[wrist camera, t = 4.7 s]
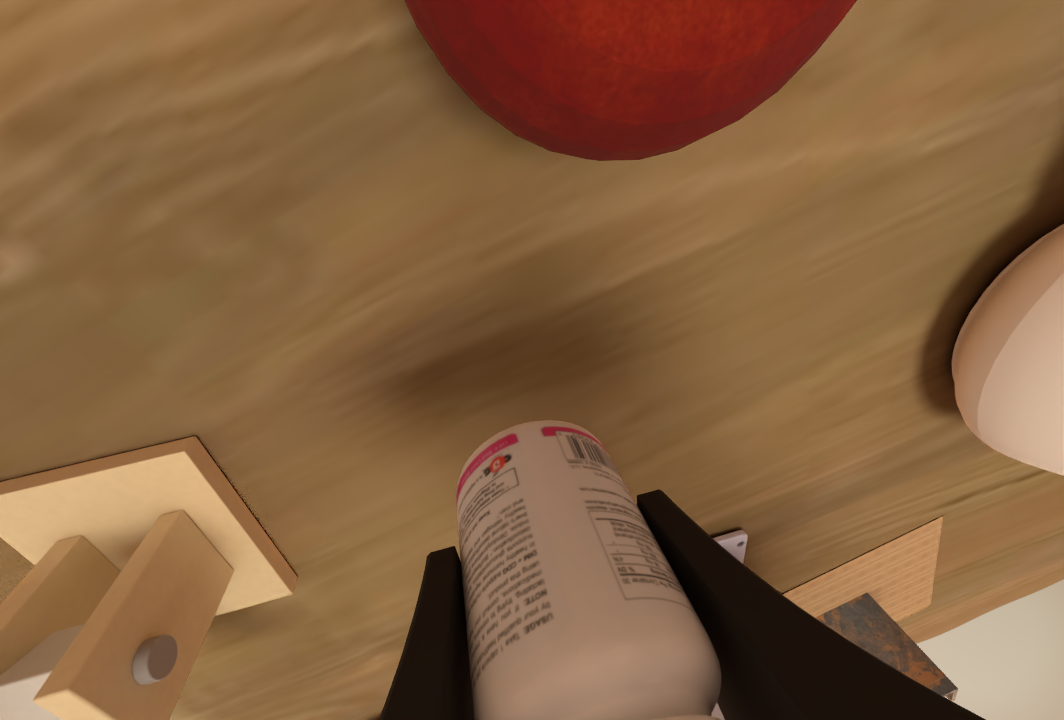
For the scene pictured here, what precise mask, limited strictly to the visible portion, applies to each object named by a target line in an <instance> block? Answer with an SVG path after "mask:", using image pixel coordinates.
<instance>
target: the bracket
mask: <svg viewBox="0 0 1064 720" xmlns="http://www.w3.org/2000/svg"><path fill="white" fill-rule="evenodd" d="M0 537H1V538H2V539H3V540H4V541H6V542H7V543H8V544H9V545H11V546H12V547H13V548H14V549H15V550H17V551H18V552H19V553H20V554H22V555H23V556H24V557H25V558H26V559H28V560H29V561H30V562H31V563H33V564H34V565H35V566H34V567H33V568H32V569H31V571H30V572H29V573H28V574H27V575H26V576H25V577H24V578H23V580H22V581H21V582H20V583H19V584H18V585H17V586H16V587H15V588H14V590H13V591H12V592H11V593H10V594H9V595H8V596H7V597H6V598H5V600H4V601H3V602H2V603H1V604H0V675H2V674H3V673H4V672H5V671H7V670H8V669H9V668H10V667H11V666H13V665H14V664H15V663H16V662H18V661H19V660H20V659H21V658H22V657H24V656H25V655H26V654H27V653H29V652H30V651H31V650H32V649H34V648H35V647H36V646H37V645H38V644H40V643H41V642H42V641H43V640H45V639H46V638H47V637H48V636H49V635H51V634H52V633H53V632H56V631H60V630H64V629H67V628H71V627H75V626H78V625H82V624H85V625H84V626H83V628H82V629H81V630H80V632H79V633H78V635H77V636H76V638H75V639H74V641H73V642H72V643H71V645H70V646H69V648H68V649H67V651H66V652H65V654H64V655H63V657H62V658H61V659H60V661H59V662H58V664H57V665H56V667H55V668H54V670H53V671H52V672H51V674H50V675H49V677H48V678H47V680H46V681H45V683H44V684H43V685H42V687H41V688H40V690H39V691H38V693H37V694H36V696H35V697H34V699H33V702H34V703H35V704H37V705H39V706H40V707H42V708H44V709H45V710H47V711H49V712H51V713H52V714H54V715H56V716H57V717H59V718H61V719H62V720H169V719H170V716H171V714H172V712H173V709H174V707H175V705H176V703H177V700H178V698H179V696H180V693H181V691H182V689H183V687H184V684H185V682H186V680H187V678H188V675H189V673H190V671H191V668H192V666H193V664H194V662H195V659H196V657H197V655H198V652H199V650H200V648H201V646H202V643H203V641H204V639H205V636H206V634H207V632H208V630H209V627H210V625H211V623H212V620H213V618H214V616H217V615H221V614H224V613H228V612H232V611H235V610H239V609H242V608H246V607H249V606H253V605H256V604H260V603H264V602H267V601H271V600H274V599H278V598H281V597H285V596H289V595H292V594H293V591H294V587H295V584H296V581H297V576H296V574H295V573H294V572H293V570H292V569H291V568H290V566H289V565H288V563H287V562H286V561H285V559H284V558H283V556H282V555H281V554H280V552H279V551H278V550H277V548H276V547H275V545H274V544H273V543H272V541H271V540H270V538H269V537H268V536H267V534H266V533H265V531H264V530H263V529H262V527H261V526H260V525H259V523H258V522H257V520H256V519H255V518H254V516H253V515H252V513H251V512H250V511H249V509H248V508H247V507H246V505H245V504H244V502H243V501H242V500H241V498H240V497H239V495H238V494H237V493H236V491H235V490H234V488H233V487H232V486H231V484H230V483H229V482H228V480H227V479H226V477H225V476H224V475H223V473H222V472H221V470H220V469H219V468H218V466H217V465H216V464H215V462H214V461H213V459H212V458H211V457H210V455H209V454H208V452H207V451H206V450H205V448H204V447H203V445H202V444H201V443H200V441H199V440H198V439H197V437H196V436H194V437H189V438H185V439H181V440H177V441H172V442H168V443H164V444H160V445H155V446H151V447H147V448H143V449H138V450H134V451H130V452H126V453H121V454H117V455H113V456H109V457H104V458H100V459H96V460H92V461H88V462H83V463H79V464H75V465H71V466H66V467H62V468H58V469H54V470H49V471H45V472H41V473H37V474H32V475H28V476H24V477H20V478H15V479H11V480H7V481H3V482H0Z"/></svg>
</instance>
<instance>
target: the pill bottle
mask: <svg viewBox="0 0 1064 720" xmlns="http://www.w3.org/2000/svg"><path fill="white" fill-rule="evenodd" d="M457 518H458V533H459V545H460V558H461V571H462V583H463V594H464V606H465V617H466V630H467V641H468V653H469V664H470V678H471V687H472V698H473V709H474V719H475V720H721V719H719V718H717V717H713V716H712V714H711V713H712V712H713V710H714V708H715V705H716V703H717V700H718V697H719V694H720V689H721V669H720V663H719V660H718V657H717V654H716V651H715V649H714V647H713V644H712V642H711V640H710V638H709V635H708V634H707V632H706V630H705V628H704V626H703V625H702V623H701V621H700V619H699V617H698V615H697V613H696V612H695V610H694V608H693V606H692V604H691V603H690V601H689V599H688V597H687V595H686V593H685V591H684V590H683V588H682V586H681V584H680V583H679V581H678V579H677V577H676V575H675V573H674V572H673V570H672V568H671V566H670V564H669V562H668V561H667V559H666V557H665V555H664V553H663V552H662V550H661V548H660V546H659V544H658V543H657V541H656V539H655V537H654V535H653V533H652V532H651V530H650V528H649V526H648V525H647V523H646V521H645V519H644V517H643V515H642V514H641V512H640V510H639V508H638V506H637V504H636V503H635V501H634V499H633V497H632V495H631V494H630V492H629V490H628V489H627V487H626V485H625V483H624V481H623V479H622V478H621V476H620V474H619V472H618V470H617V468H616V467H615V465H614V463H613V461H612V460H611V458H610V456H609V454H608V453H607V451H606V450H605V448H604V447H603V445H602V444H601V443H600V441H599V440H598V439H597V438H596V437H595V436H594V435H593V434H591V433H590V432H589V431H587V430H586V429H584V428H582V427H580V426H578V425H575V424H573V423H569V422H565V421H557V420H541V421H532V422H526V423H522V424H518V425H515V426H512V427H510V428H507V429H505V430H503V431H501V432H499V433H497V434H496V435H494V436H492V437H491V438H489V439H488V440H487V441H485V442H484V443H483V444H482V445H480V446H479V447H478V448H477V449H476V450H475V451H474V452H473V453H472V455H471V456H470V457H469V459H468V460H467V462H466V463H465V465H464V467H463V469H462V471H461V474H460V477H459V481H458V486H457Z"/></svg>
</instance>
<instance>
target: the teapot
mask: <svg viewBox="0 0 1064 720" xmlns="http://www.w3.org/2000/svg"><path fill="white" fill-rule="evenodd" d="M951 362H952V377H953V379H954V383H955V398H956V403H957V406H958V408H959V410H960V413H961V415H962V417H963V420H964V422H965V424H966V425H967V426H968V428H969V429H970V430H971V431H972V433H974V434H975V435H976V436H977V437H978V438H979V439H980V440H981V441H983V442H984V443H985V444H987V445H988V446H989V447H991V448H992V449H994V450H996V451H998V452H1000V453H1002V454H1004V455H1006V456H1008V457H1011V458H1013V459H1016V460H1018V461H1021V462H1023V463H1026V464H1029V465H1032V466H1035V467H1038V468H1041V469H1044V470H1047V471H1050V472H1053V473H1056V474H1060V475H1063V476H1064V224H1062V225H1061V226H1059V227H1057V228H1056V229H1054V230H1053V231H1051V232H1049V233H1048V234H1046V235H1045V236H1043V237H1041V238H1040V239H1039V240H1037V241H1036V242H1035V243H1033V244H1032V245H1031V246H1030V247H1028V248H1027V249H1026V250H1025V251H1023V252H1022V253H1021V254H1020V255H1018V256H1017V257H1016V258H1015V259H1014V260H1013V261H1012V262H1011V263H1010V264H1009V265H1008V266H1007V267H1006V268H1005V269H1004V270H1003V271H1002V272H1001V273H1000V274H999V275H998V276H997V277H996V278H995V280H994V281H993V282H992V283H991V284H990V285H989V287H988V288H987V289H986V290H985V291H984V292H983V294H982V295H981V297H980V298H979V300H978V301H977V302H976V304H975V305H974V307H973V308H972V310H971V311H970V313H969V315H968V317H967V319H966V320H965V322H964V324H963V326H962V328H961V330H960V333H959V335H958V338H957V340H956V343H955V346H954V351H953V356H952V361H951Z"/></svg>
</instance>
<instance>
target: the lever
mask: <svg viewBox="0 0 1064 720" xmlns="http://www.w3.org/2000/svg"><path fill="white" fill-rule="evenodd" d="M84 625H85V624H82V625H78V626H75V627H71V628H67V629H64V630H60V631H56V632H53V633H52V634H51V635H49V636H48V637H47V638H46V639H45V640H43V641H42V642H41V643H40V644H38V645H37V646H36V647H35V648H34V649H32V650H31V651H30V652H29V653H27V654H26V655H25V656H24V657H22V658H21V659H20V660H19V661H18V662H16V663H15V664H14V665H13V666H11V667H10V668H9V669H8V670H7V671H5V672H4V673H3V674H2V675H0V720H62V719H61V718H59V717H57V716H56V715H54V714H52V713H51V712H49V711H47V710H45V709H44V708H42V707H40V706H39V705H37V704H35V703H34V702H33V699H34V697H35V696H36V694H37V693H38V691H39V690H40V688H41V687H42V685H43V684H44V683H45V681H46V680H47V678H48V677H49V675H50V674H51V672H52V671H53V670H54V668H55V667H56V665H57V664H58V662H59V661H60V659H61V658H62V657H63V655H64V654H65V652H66V651H67V649H68V648H69V646H70V645H71V643H72V642H73V641H74V639H75V638H76V636H77V635H78V633H79V632H80V630H81V629H82V628H83V626H84Z"/></svg>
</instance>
